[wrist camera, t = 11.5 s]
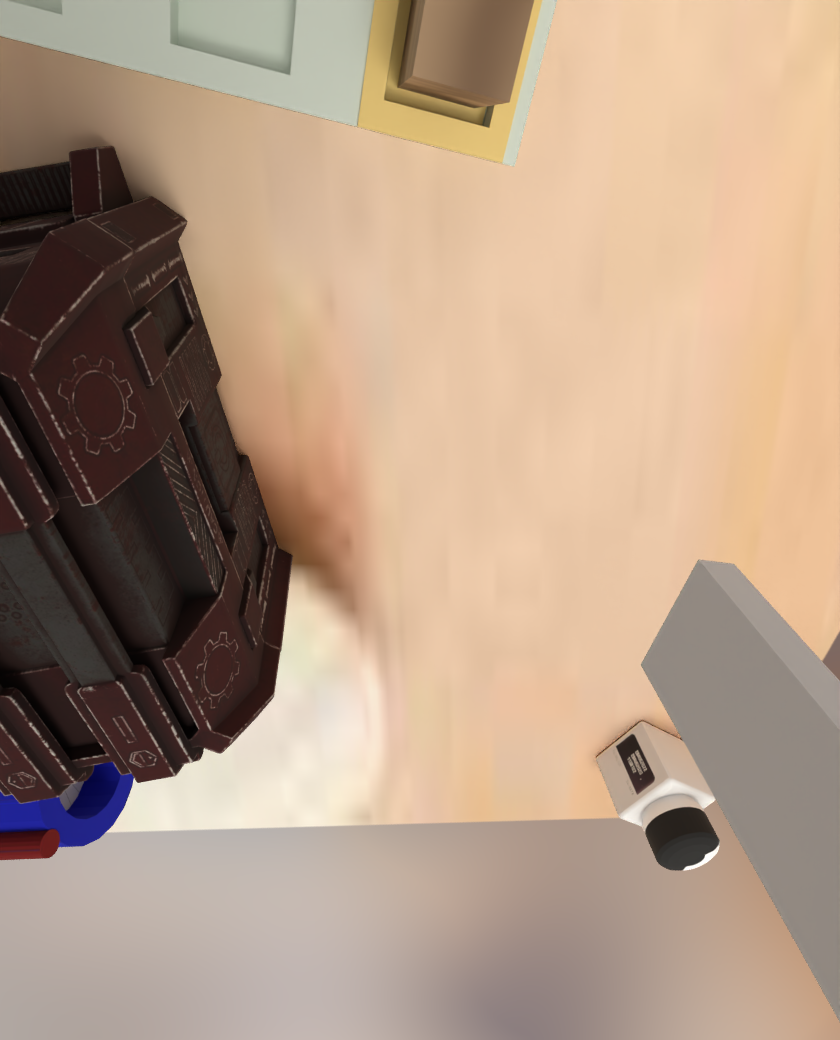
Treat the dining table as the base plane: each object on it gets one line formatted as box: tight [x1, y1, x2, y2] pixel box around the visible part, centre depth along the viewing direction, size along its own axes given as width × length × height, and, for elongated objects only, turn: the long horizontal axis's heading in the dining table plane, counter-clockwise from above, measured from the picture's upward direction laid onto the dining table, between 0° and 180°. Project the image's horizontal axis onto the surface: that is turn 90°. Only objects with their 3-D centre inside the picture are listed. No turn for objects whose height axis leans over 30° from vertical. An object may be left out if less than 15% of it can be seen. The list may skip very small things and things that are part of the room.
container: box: [596, 721, 720, 870], centre depth 67 cm, size 8×8×13 cm
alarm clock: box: [0, 762, 134, 860], centre depth 53 cm, size 12×12×15 cm
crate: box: [0, 146, 293, 804], centre depth 36 cm, size 35×19×21 cm, turn 8°
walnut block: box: [397, 0, 534, 108], centre depth 30 cm, size 4×4×9 cm
